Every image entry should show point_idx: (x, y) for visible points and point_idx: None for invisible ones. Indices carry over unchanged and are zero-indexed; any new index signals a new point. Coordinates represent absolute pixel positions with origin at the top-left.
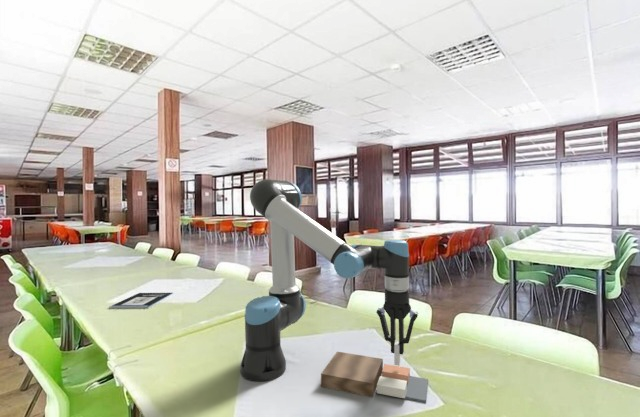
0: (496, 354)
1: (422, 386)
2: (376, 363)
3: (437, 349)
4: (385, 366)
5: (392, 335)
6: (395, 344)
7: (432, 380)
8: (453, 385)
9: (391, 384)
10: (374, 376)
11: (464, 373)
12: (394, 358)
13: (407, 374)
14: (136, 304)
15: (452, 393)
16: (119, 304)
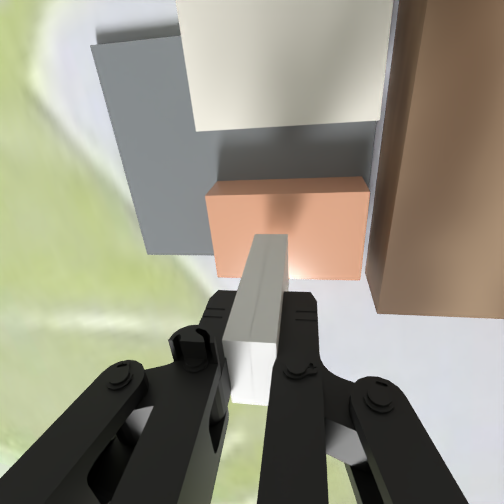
0: (34, 438)
1: (149, 183)
2: (417, 251)
3: None
4: (352, 255)
5: (294, 454)
6: (262, 343)
7: (138, 259)
8: (59, 249)
9: (281, 28)
10: (430, 45)
11: (61, 334)
12: (284, 257)
13: (212, 208)
14: None
15: (37, 188)
16: None
